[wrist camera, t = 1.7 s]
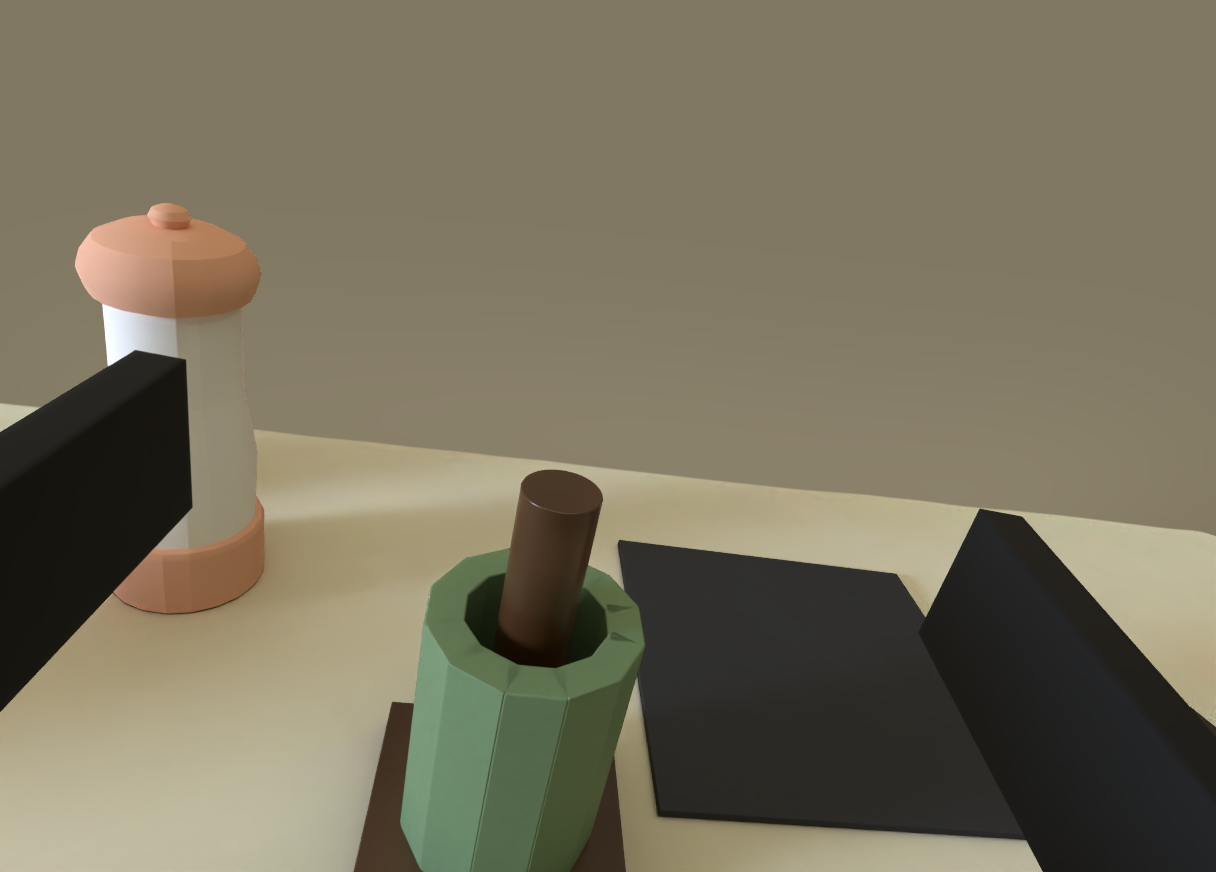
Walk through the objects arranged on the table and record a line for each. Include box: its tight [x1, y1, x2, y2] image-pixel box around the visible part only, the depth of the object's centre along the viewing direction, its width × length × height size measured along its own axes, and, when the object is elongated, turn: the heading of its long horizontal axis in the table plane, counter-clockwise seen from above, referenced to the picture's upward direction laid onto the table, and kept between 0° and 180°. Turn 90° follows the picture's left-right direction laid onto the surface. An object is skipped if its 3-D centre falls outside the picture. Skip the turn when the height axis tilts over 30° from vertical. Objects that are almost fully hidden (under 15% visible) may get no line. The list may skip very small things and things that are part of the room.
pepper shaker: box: [75, 203, 264, 614], centre depth 36 cm, size 7×7×19 cm
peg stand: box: [354, 470, 626, 872], centre depth 27 cm, size 10×10×16 cm
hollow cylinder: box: [400, 548, 645, 872], centre depth 28 cm, size 7×7×10 cm
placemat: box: [618, 540, 1026, 839], centre depth 43 cm, size 20×20×1 cm
